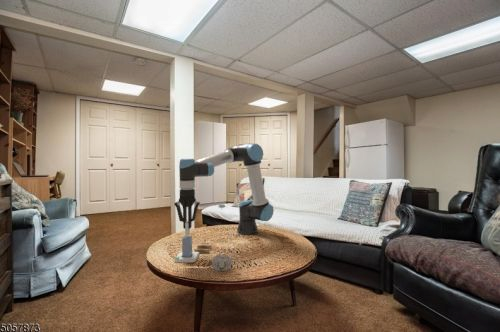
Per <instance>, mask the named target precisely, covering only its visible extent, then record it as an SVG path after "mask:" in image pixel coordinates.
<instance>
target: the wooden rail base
mask: <svg viewBox="0 0 500 332" xmlns="http://www.w3.org/2000/svg"><path fill="white" fill-rule="evenodd" d="M211 251H212V244H197V245H196V248H194V251H193V252H199V254H204V255H206V254H208V255H209V254H210V253H211Z"/></svg>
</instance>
